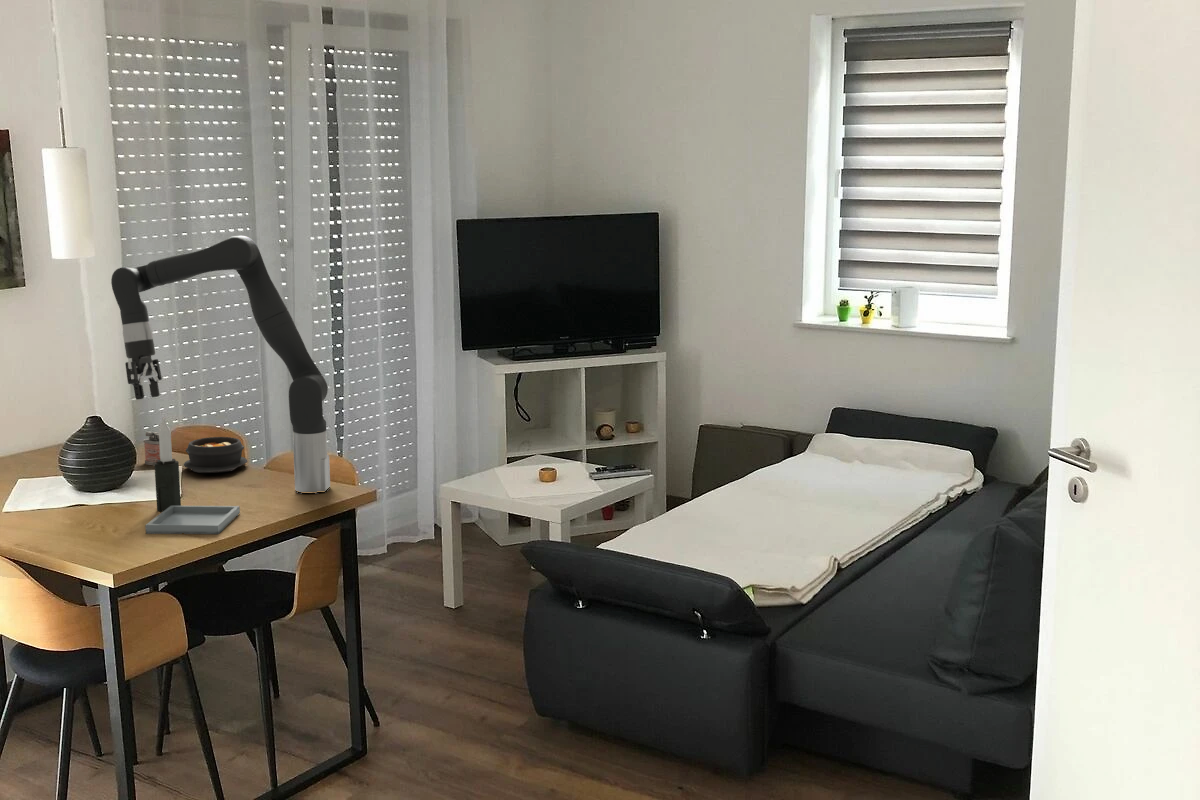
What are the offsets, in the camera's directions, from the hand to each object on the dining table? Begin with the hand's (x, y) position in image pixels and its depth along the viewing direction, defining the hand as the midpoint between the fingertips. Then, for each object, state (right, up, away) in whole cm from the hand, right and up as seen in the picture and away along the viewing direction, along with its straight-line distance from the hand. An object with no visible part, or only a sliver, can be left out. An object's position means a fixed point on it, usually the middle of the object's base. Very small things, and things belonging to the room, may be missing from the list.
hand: (148, 397), depth 331 cm
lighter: (-12, -21, +38) cm, 44 cm away
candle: (+10, -30, -13) cm, 34 cm away
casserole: (+8, -22, +33) cm, 40 cm away
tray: (+21, -32, -25) cm, 46 cm away
